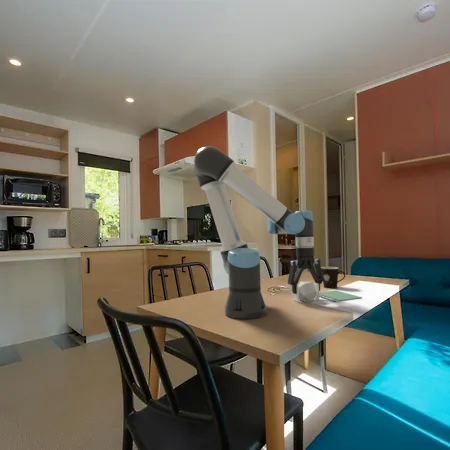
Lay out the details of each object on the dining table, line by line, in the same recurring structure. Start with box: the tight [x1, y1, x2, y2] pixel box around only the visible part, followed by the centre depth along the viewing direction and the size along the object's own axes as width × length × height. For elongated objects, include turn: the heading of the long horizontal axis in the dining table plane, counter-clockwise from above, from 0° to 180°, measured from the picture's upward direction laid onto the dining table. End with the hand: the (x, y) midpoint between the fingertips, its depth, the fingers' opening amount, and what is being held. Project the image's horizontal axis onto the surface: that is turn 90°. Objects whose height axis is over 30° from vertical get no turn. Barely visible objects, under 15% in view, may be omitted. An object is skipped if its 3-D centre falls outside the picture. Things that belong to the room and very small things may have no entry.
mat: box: [319, 290, 363, 302], centre depth 127 cm, size 12×16×1 cm
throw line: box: [319, 295, 337, 303], centre depth 124 cm, size 1×16×1 cm, turn 20°
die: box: [297, 280, 317, 303], centre depth 120 cm, size 8×9×10 cm
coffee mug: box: [321, 266, 346, 290], centre depth 145 cm, size 12×9×10 cm
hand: (306, 299), depth 120 cm, fingers open, 9 cm apart
